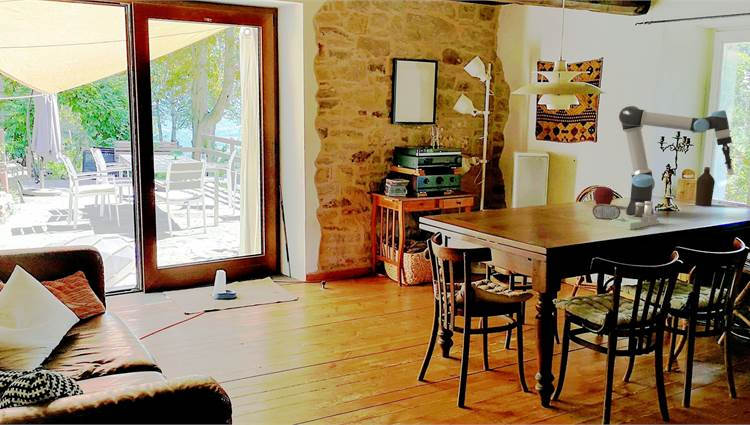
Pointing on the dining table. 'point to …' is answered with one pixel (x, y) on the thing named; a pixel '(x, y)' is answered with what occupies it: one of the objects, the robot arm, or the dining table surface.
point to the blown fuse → (639, 209)
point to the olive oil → (705, 188)
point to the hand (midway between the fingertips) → (730, 173)
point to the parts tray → (626, 223)
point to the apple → (603, 195)
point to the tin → (606, 211)
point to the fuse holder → (646, 219)
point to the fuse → (648, 208)
